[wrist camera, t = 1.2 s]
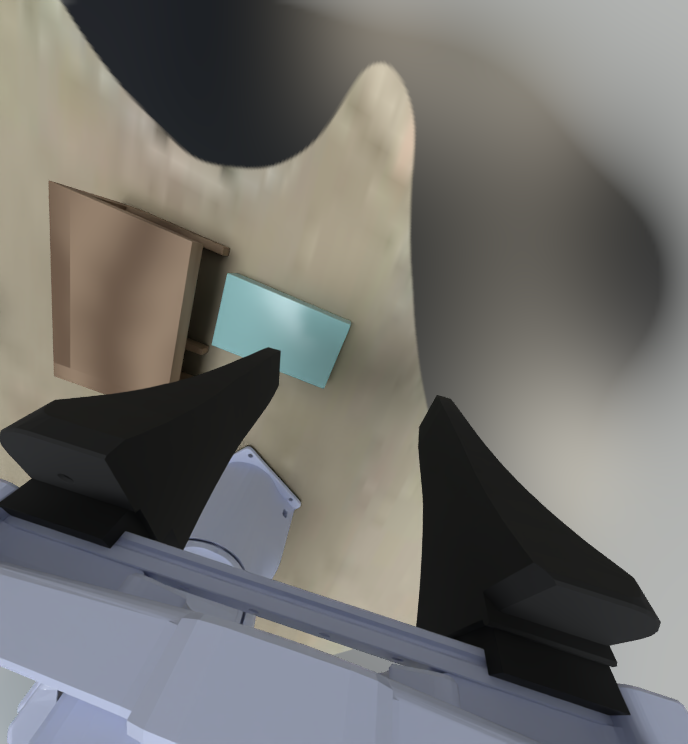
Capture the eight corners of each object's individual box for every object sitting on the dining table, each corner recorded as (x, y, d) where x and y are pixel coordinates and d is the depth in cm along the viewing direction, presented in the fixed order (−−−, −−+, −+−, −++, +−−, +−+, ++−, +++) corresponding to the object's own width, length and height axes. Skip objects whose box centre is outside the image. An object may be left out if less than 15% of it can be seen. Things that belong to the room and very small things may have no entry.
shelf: (239, 252, 20) (205, 245, 15) (207, 392, 24) (174, 418, 20) (121, 201, 19) (48, 178, 14) (111, 356, 23) (54, 375, 19)
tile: (351, 320, 22) (350, 325, 20) (326, 379, 24) (323, 388, 22) (240, 273, 21) (227, 273, 19) (224, 338, 23) (211, 344, 21)
